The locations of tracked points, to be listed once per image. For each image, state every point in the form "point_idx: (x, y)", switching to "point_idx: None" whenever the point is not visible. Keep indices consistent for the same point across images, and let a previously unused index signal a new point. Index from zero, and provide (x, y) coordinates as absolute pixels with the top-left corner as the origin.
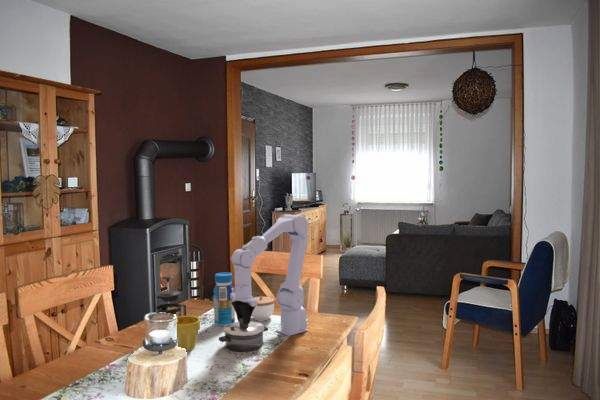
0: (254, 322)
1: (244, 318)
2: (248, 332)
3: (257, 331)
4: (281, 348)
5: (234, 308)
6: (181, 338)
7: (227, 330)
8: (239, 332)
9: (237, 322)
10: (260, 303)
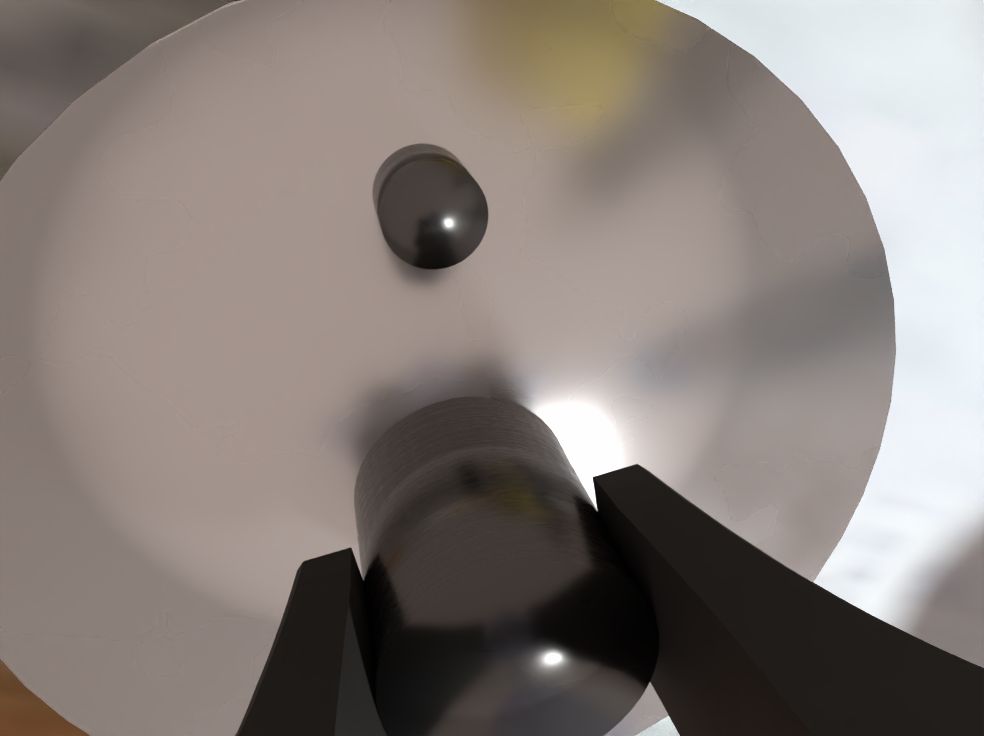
0: (652, 701)
1: (254, 708)
2: (23, 507)
3: (44, 680)
4: (58, 716)
5: (979, 693)
6: None
7: (426, 42)
8: (101, 309)
9: (856, 439)
10: None
